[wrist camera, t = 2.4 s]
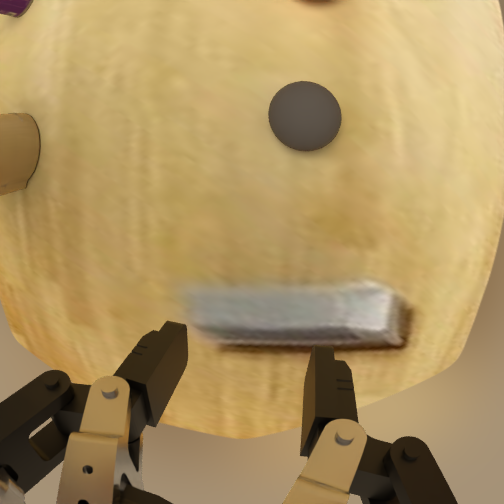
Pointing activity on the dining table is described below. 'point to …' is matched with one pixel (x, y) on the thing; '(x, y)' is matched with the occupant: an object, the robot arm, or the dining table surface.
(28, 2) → the container
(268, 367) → the dining table surface
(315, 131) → the dark grey ball
